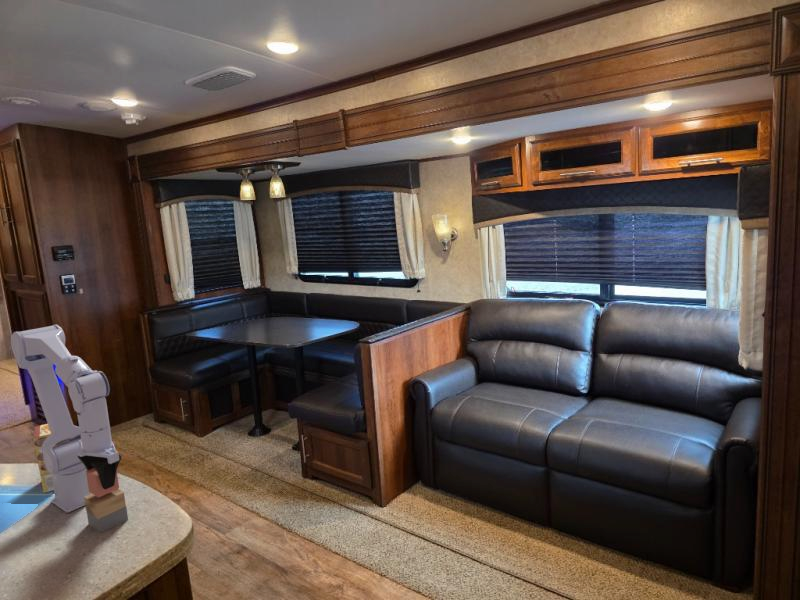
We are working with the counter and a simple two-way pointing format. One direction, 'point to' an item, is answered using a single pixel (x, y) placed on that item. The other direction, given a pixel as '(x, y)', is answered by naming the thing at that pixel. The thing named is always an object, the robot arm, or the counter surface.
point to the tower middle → (104, 503)
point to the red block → (98, 484)
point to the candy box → (39, 437)
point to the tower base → (108, 520)
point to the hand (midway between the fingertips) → (103, 484)
